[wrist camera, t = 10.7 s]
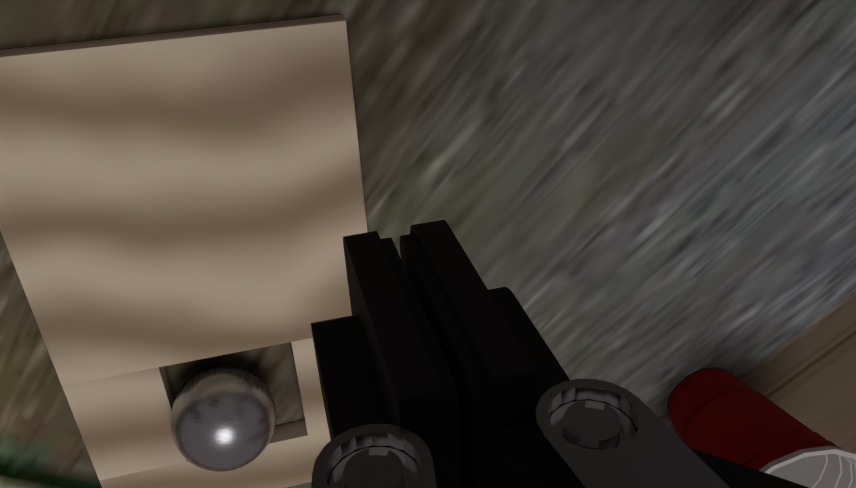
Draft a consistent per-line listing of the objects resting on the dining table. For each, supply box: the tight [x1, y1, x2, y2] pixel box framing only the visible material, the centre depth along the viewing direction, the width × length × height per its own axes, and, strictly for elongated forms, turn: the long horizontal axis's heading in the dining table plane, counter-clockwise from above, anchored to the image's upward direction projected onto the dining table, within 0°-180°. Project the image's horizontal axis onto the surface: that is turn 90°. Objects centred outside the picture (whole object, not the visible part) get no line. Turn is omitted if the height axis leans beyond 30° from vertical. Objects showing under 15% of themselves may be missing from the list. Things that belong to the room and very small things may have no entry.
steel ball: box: [170, 367, 276, 472], centre depth 42 cm, size 6×6×6 cm
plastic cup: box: [668, 368, 856, 488], centre depth 52 cm, size 11×11×12 cm
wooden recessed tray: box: [0, 15, 367, 488], centre depth 41 cm, size 30×18×2 cm, turn 3°
